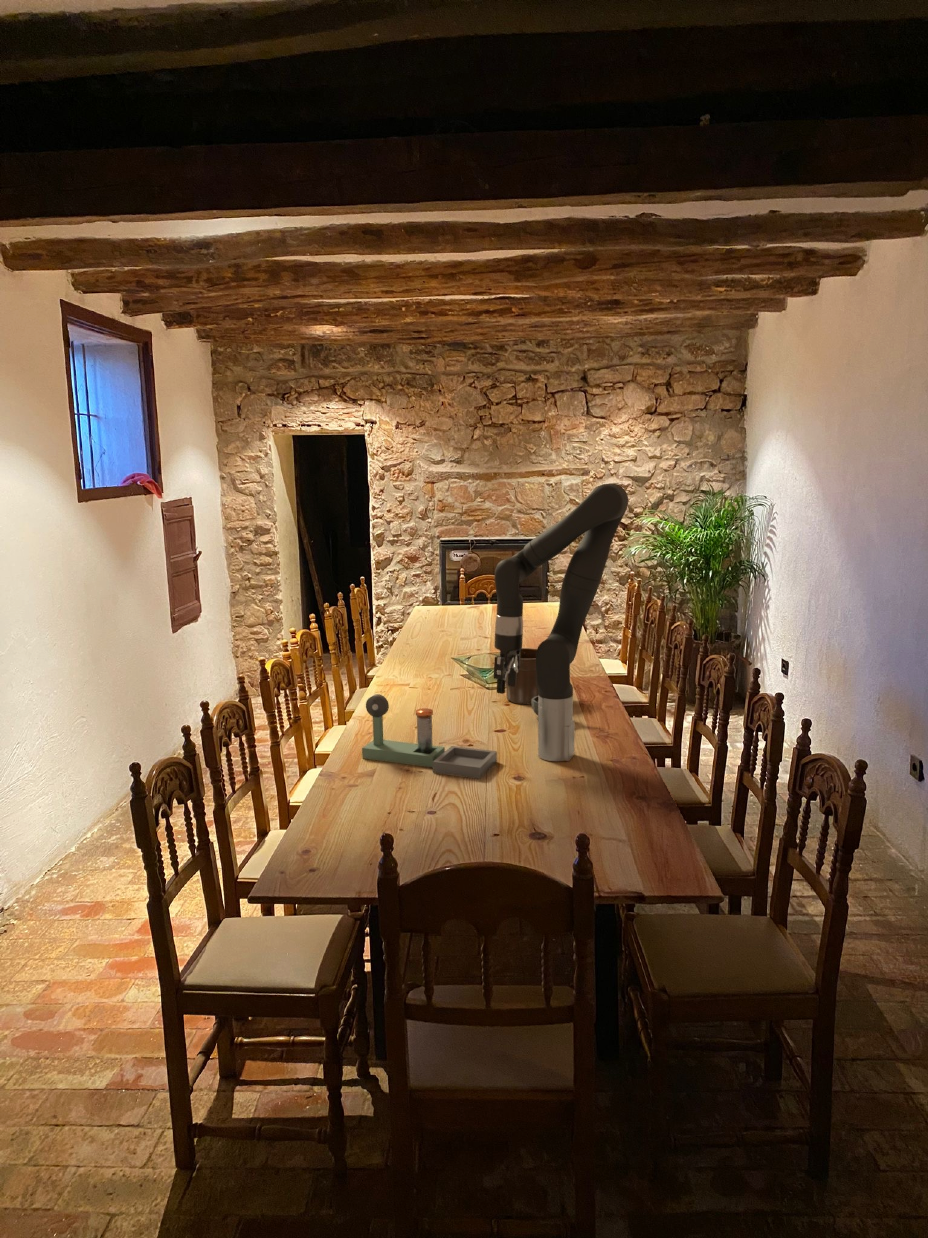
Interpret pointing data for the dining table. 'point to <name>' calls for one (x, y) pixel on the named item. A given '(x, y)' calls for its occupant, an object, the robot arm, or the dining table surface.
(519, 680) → the plant pot
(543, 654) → the robot arm
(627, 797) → the dining table surface
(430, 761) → the pulley bracket
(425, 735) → the pin
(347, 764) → the dining table surface
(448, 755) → the pin tray
